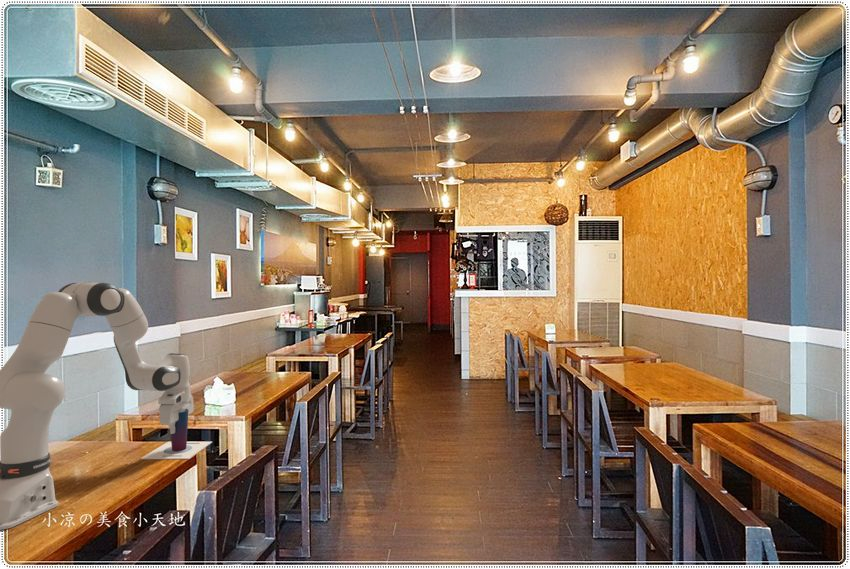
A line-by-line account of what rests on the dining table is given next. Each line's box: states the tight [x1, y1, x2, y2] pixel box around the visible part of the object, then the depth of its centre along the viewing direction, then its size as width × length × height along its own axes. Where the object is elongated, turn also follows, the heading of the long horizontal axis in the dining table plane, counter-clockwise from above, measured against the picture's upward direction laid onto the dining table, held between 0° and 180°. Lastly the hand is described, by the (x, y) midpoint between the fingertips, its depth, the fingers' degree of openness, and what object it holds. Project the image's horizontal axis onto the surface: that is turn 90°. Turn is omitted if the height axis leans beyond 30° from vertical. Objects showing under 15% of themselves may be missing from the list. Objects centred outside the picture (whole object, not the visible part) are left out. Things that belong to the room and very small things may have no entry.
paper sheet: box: [140, 441, 213, 460], centre depth 200 cm, size 20×18×1 cm
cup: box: [170, 409, 189, 451], centre depth 200 cm, size 7×7×15 cm
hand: (178, 430), depth 200 cm, fingers closed on cup, 6 cm apart
